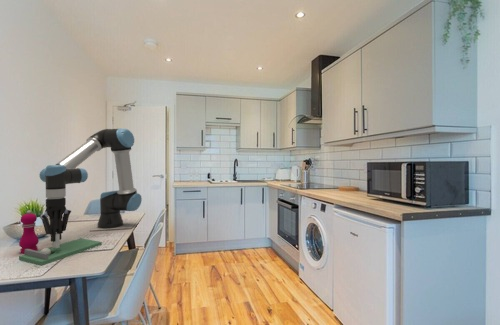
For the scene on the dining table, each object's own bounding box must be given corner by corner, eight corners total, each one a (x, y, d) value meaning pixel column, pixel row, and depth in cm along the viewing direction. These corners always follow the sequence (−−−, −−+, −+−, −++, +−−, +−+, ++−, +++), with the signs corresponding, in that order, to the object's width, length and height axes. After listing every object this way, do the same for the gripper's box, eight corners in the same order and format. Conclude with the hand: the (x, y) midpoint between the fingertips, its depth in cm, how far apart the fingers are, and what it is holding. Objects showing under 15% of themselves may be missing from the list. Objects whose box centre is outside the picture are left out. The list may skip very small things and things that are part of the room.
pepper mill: (16, 252, 124) (15, 210, 123) (34, 247, 130) (34, 208, 130) (23, 255, 120) (22, 212, 120) (41, 250, 127) (41, 209, 126)
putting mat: (80, 241, 141) (80, 233, 140) (101, 244, 135) (101, 237, 134) (18, 259, 115) (18, 250, 115) (41, 265, 109) (41, 256, 109)
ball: (44, 246, 120) (35, 251, 116) (50, 245, 118) (41, 250, 115) (48, 254, 120) (40, 259, 117) (54, 253, 119) (45, 258, 115)
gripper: (65, 195, 129) (65, 242, 129) (35, 199, 116) (35, 251, 117) (75, 196, 126) (75, 244, 126) (45, 200, 114) (45, 253, 114)
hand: (56, 247), depth 121 cm, fingers closed
